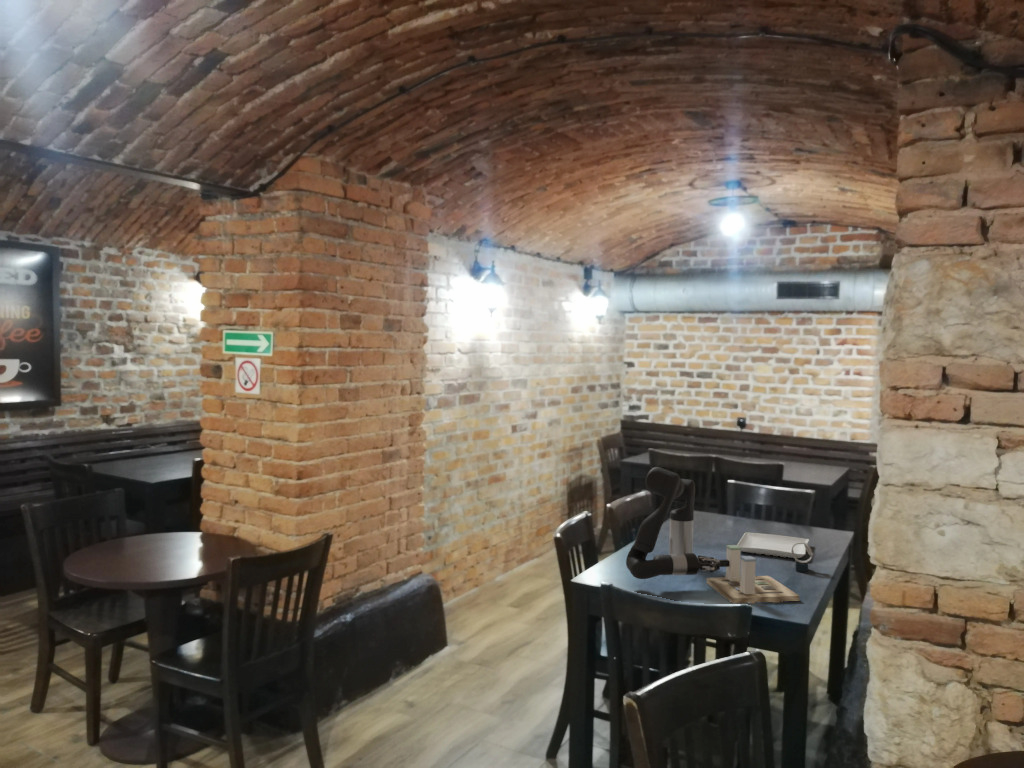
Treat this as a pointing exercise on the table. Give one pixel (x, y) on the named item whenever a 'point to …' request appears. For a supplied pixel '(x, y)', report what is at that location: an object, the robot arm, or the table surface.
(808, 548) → the watch
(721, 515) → the table surface
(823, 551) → the table surface
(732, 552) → the tall beige block
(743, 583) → the near switch
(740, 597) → the switch board
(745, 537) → the square plate
